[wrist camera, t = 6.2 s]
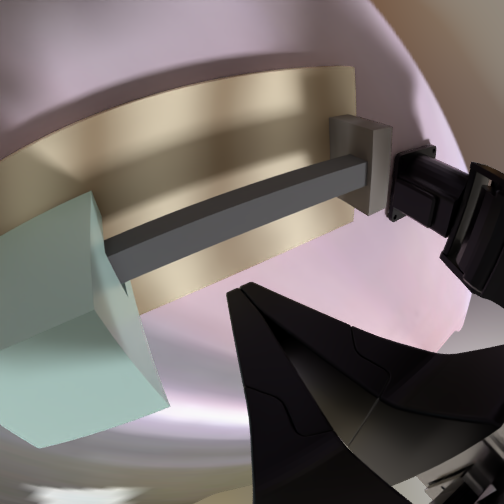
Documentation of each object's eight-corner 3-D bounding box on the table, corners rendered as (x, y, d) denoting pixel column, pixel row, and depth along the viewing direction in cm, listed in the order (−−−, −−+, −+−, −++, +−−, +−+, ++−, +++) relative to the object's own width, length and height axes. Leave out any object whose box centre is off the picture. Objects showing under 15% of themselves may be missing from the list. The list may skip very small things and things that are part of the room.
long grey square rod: (362, 138, 16) (394, 150, 14) (361, 175, 17) (390, 189, 15) (-82, 325, 7) (-93, 355, 5) (-59, 352, 9) (-66, 383, 7)
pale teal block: (91, 190, 11) (94, 309, 6) (129, 276, 14) (170, 406, 9) (-12, 243, 9) (-59, 376, 4) (37, 317, 13) (38, 448, 7)
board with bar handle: (340, 65, 15) (400, 72, 12) (342, 214, 22) (386, 243, 18) (-109, 248, 6) (-139, 295, 3) (-20, 368, 13) (-24, 420, 9)
